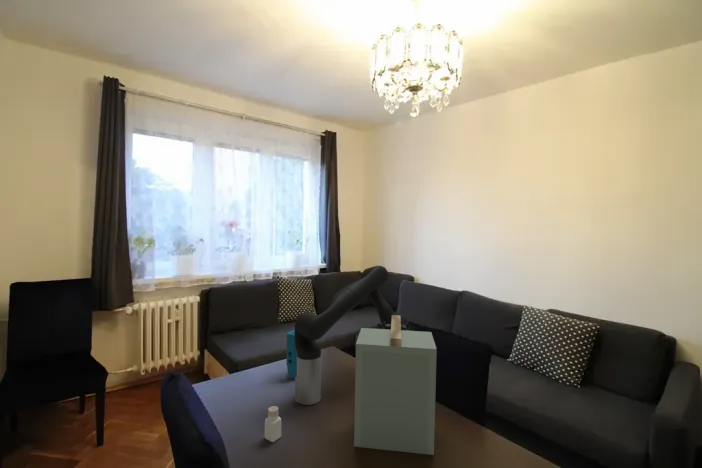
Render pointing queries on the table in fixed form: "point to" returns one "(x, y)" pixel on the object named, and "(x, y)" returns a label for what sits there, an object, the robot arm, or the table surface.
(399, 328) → the slat
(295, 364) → the block
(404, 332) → the tall sage green box
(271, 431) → the salt shaker
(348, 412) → the table surface
